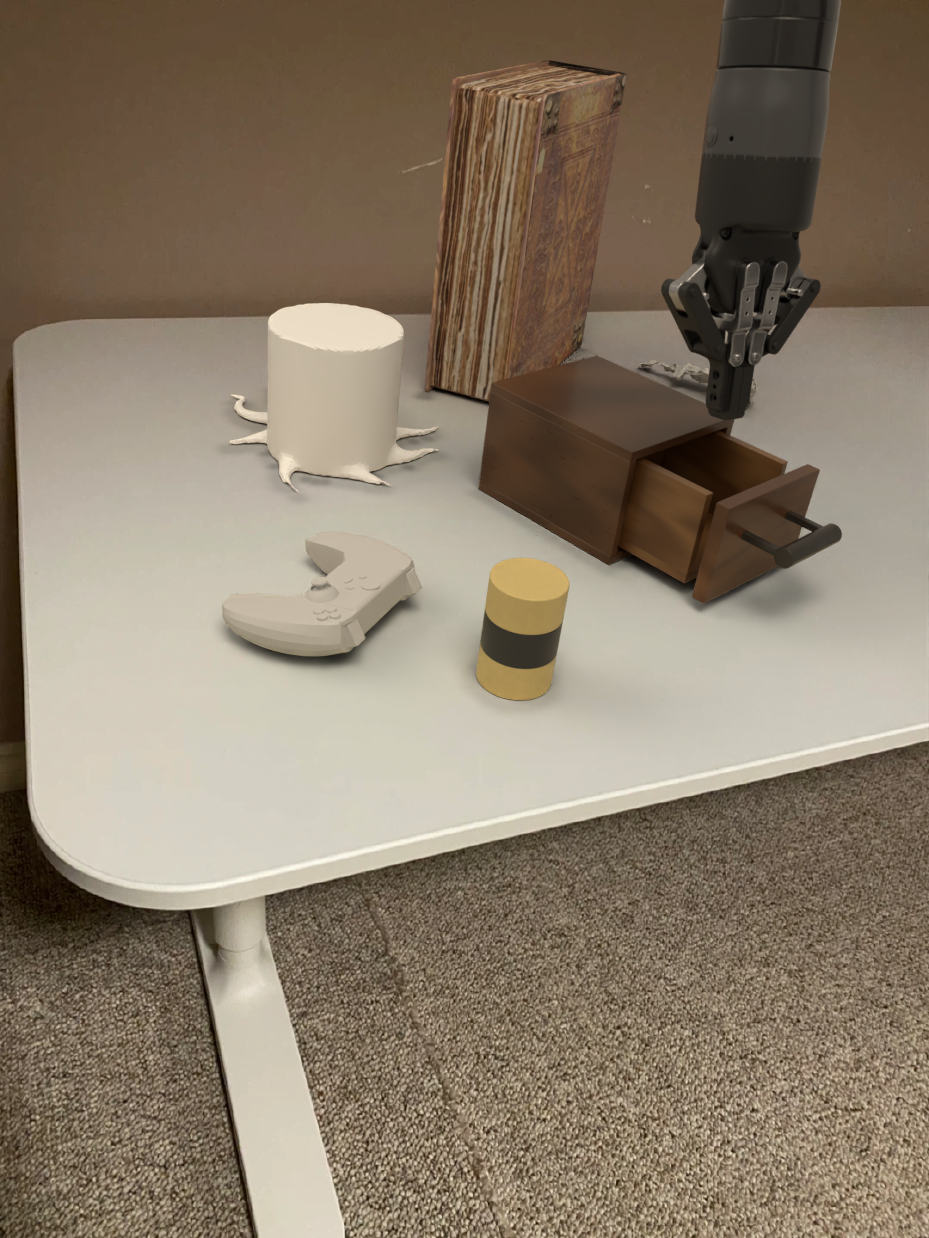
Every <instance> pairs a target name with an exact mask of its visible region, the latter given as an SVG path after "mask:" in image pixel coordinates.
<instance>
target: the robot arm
mask: <svg viewBox="0 0 929 1238" xmlns="http://www.w3.org/2000/svg"><path fill="white" fill-rule="evenodd" d="M841 4H842V0H724V4H723V9H722V13H721V14H722V15H721V23H720V31H719V40H718V48H717V56H716V64H715V65H716V66H715V68H716V70H715V73H714V79H713V84H712V88H711V92H710V95H709V96H710V97H709V100H708V104H707V110H706V116H705V125H704V133H703V141H702V142H703V143H702V149H701V150H702V152H701V159H700V167H699V174H698V175H699V176H698V185H697V195H696V202H695V209H694V220H695V222H696V223H697V224H698V226H699V229H700V234H699V238H698V241H697V243H696V246H695V247H694V249H693V252H692V256H691V264H692V265H691V266H690V267H688V269H687V270H686V271H684V273H683V274H682V275H681V276H679V277H678V278H677V279H673V278H667V279H665V280H664V281H663V282H662V284H661V287H660V291H661V295H662V298H663V299H664V302H665V303H666V305H667V308H668V309H669V311H670V314H671V316H672V318H673V320H674V322H675V323H676V326H677V328H678V330H679V333H680V334H681V337H682V338H683V341H684V343H685V345H686V347H687V349H688V350H689V352H690V353H693V354H696V355H699V356H702V357H703V358H706V359H707V360H708V362H709V378H708V383H707V388H706V395H705V403H706V407H707V408H708V412H709V414H710V415H711V416H713V417H716V418H719V419H722V420H730V419H734V420H738V419H742V418H744V416H745V414H746V410H747V408H748V407H749V405H750V404H749V400H750V393H751V387H752V380H753V379H754V372H755V366H756V365H758V364H759V363H760V362H761V360H762V358H764V357H765V356H767V355H768V354H769V355H775V356H776V355H777V354H778V353H779V352H780V351H781V350H782V348H783V347H784V345H785V344H786V342H787V341H788V339H789V338H790V336H791V335H792V333H793V332H794V330H795V329H796V328H797V326H798V325H799V323H800V322H801V320H802V318H803V317H804V316H805V315H806V313H807V311H808V310H809V308H811V305H812V304H813V302H815V299H816V298H817V296H818V295H819V294H820V291H821V289H822V288H821V282H820V280H819V279H816V278H811V277H808V276H807V275H806V274H805V272H804V270H802V268H801V267H800V264H801V263H800V262H801V258H802V252H801V247H800V233H801V232H804V231H806V230H808V229H809V228H810V227H811V225H812V222H813V215H814V209H815V203H816V198H817V191H818V184H819V177H820V171H821V165H822V159H823V151H824V145H825V139H826V132H827V126H828V121H829V111H830V110H829V109H830V82H831V73H830V72H831V71H832V67H833V61H834V54H835V47H836V41H837V36H838V35H837V34H838V29H839V28H838V27H839V20H840V14H841V13H840V12H841V6H842V5H841ZM725 313H726V314H725ZM754 314H756V315H754ZM774 326H775V327H774ZM772 329H773V330H772ZM726 331H727V333H728V336H727V341H726V343H725V334H726ZM770 331H771V332H770ZM769 333H770V334H769ZM748 404H749V405H748ZM747 406H748V407H747Z"/></svg>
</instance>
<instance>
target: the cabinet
mask: <svg viewBox="0 0 929 1238" xmlns="http://www.w3.org/2000/svg"><path fill="white" fill-rule="evenodd" d="M734 422H735V419H730V420H722V419H719V418H716V417H713V416H711V415H710V414H709V412H708V408H707V407H706V402H703V401H701V400H699V399H697V398H694V397H691V396H689V395H687V394H685V393H683V392H681V391H678V390H676V389H674V388H671V387H669V386H667V385H665V384H662V383H660V382H658V381H656V380H653V379H652V378H649V377H647V376H644V375H643V374H640V373H637V372H635V371H633V370H631V369H629V368H626V367H624V366H622V365H619V364H617V363H615V362H613V361H611V360H609V359H606V358H604V357H602V356H599V355H594V356H590V357H585V358H581V359H578V360H574V361H570V362H566V363H561V364H559V365H558V366H554V367H550V368H546V369H542V370H538V371H534V372H531V373H527V374H523V375H519V376H515V377H511V378H507V379H503V380H499V381H495V382H492V383H491V392H490V400H489V401H488V409H487V416H486V425H485V433H484V441H483V447H482V448H483V450H482V458H481V463H480V464H481V466H480V474H479V481H478V490H479V491H481V492H483V493H485V494H486V495H488V496H490V497H492V498H493V499H495V500H497V501H499V502H500V503H502V504H504V505H506V506H507V507H509V508H510V509H512V510H514V511H516V512H517V513H520V515H522V516H524V517H526V518H528V519H529V520H531V521H532V522H534V523H537V524H538V525H539V526H541V527H543V528H545V529H546V530H548V531H550V532H552V533H553V534H554V535H557V536H558V537H560V538H561V539H563V540H565V541H567V542H569V543H570V544H572V545H574V546H576V547H577V548H579V549H580V550H582V551H584V552H586V553H588V554H589V555H591V556H593V557H594V558H596V559H598V560H600V561H601V562H602V563H605V564H606V565H608V566H610V565H612V564H615V563H617V562H619V561H621V560H624V559H626V558H628V557H631V556H634V555H633V554H631V553H630V552H628V551H626V550H624V549H623V548H621V547H619V546H618V545H619V540H620V535H621V531H622V526H623V521H624V517H625V512H626V507H627V502H628V498H629V493H630V488H631V483H632V479H633V474H634V469H635V465H636V459H639V458H642V457H645V456H648V455H650V454H653V453H656V452H659V451H662V450H664V449H667V448H670V447H673V446H676V445H678V444H681V443H684V442H687V441H690V440H692V439H695V438H698V437H701V436H704V435H707V434H709V433H712V432H715V431H718V430H720V431H722V432H724V433H726V434H728V435H731V434H732V430H733V426H734Z"/></svg>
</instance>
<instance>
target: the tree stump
mask: <svg viewBox="0 0 929 1238" xmlns="http://www.w3.org/2000/svg"><path fill="white" fill-rule="evenodd" d="M404 340H405V330H404V328H403V325H402V324H401V323H400V322H399V321H397V319H396V318H393V317H392V316H391V315H388V314H385V313H383V312H381V311H379V310H376V309H373V308H369V307H361V306H358V305H351V304H348V303H347V304H346V303H342V304H341V303H334V302H320V303H319V302H313V303H304V304H296V305H293V306H285V307H282V308H279V309H277V310H276V311H275V312H273V313H272V314H270V316H269V317H268V321H267V409H266V410H267V411H255V410H250V409H246V408H245V407H244V406H243V404H244V403H245V402H246V400H247V399H246V397H245V396H244V395H239V394H230V395H229V396H232V397H233V398H236V399H238V400H236V402H235V403H234V408H233V409H234V411H235V412H236V413H237V415H238V416H240V417H242V418H244V419H246V420H248V421H253V422H254V423H258V424H259V423H261V424H266V425H267V427H266V428H265V429H264V430H262V431H259V432H256V433H253V434H251V435H247V436H243V437H241V438H235V439H231V440H228V443H229V445H241V444H245V443H246V444H252V443H253V444H256V443H259V444H261V443H262V444H264V445H265V444H266V446H267V450H268V452H269V454H271V457H272V458H274V459H275V460H276V461H277V462H278V466H279V467H278V474H279V476H280V478H281V480H282V483H283V484H286V483H287V484H288V485H289V486H291V487H292V488H293V489H294V490H295V491H296V492H297V493H299V490H298V489H296V487H294V486H293V484H292V482H291V477H292V474H293V473H294V472H304V473H307V474H310V475H319V476H323V477H326V476H328V477H333V478H342V479H344V478H345V479H349V480H357V481H360V482H365V483H369V484H376V485H380V484H381V485H388V486H391V487H392V486H393V485H392V484H390V483H388V482H386V481H385V480H382V479H380V478H379V477H378V476H376V475H374V474H373V473H372V472H375V471H379V470H381V469H383V468H385V467H387V466H390V465H397V464H403V463H410V462H411V461H414V460H417V459H419V458H422V457H424V456H425V455H427V454H430V453H432V452H434V451H436V452H439V451H440V449H439V448H432V447H431V448H429V447H426V448H420V449H413V450H408V449H404V448H401V447H400V446H399V445H398V444H397V443H398V442H397V441H398V440H400V439H403V438H408V437H415V436H422V435H423V436H424V435H427V434H428V435H429V434H430V433H432V432H435V431H436V430H437V428H439V427H440V425H438V426H434V427H430V428H422V429H420V428H416V429H415V428H410V427H403V426H402V427H400V426H398V420H399V419H398V418H399V405H400V393H401V380H402V379H401V378H402V369H403V368H402V366H403V354H404V342H405V341H404Z"/></svg>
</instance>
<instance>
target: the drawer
mask: <svg viewBox="0 0 929 1238" xmlns="http://www.w3.org/2000/svg"><path fill="white" fill-rule="evenodd" d="M788 464H789V461H787V460H786V459H783V458H782V457H779V456H777V455H775V454H772V453H770V452H768V451H765V450H763V449H761V448H759V447H757V446H754V445H753V444H750V443H748V442H746V441H744V440H742V439H739V438H738V437H735V436H733V435H731V434H730V435H728V434H726V433H724V432H722V431H720V430H718V431H715V432H712V433H709V434H707V435H704V436H701V437H698V438H695V439H692V440H690V441H687V442H684V443H681V444H678V445H676V446H673V447H670V448H667V449H664V450H662V451H659V452H656V453H653V454H650V455H648V456H645V457H642V458H639V459H636V465H635V469H634V474H633V479H632V483H631V488H630V493H629V498H628V502H627V507H626V512H625V517H624V521H623V526H622V531H621V535H620V540H619V545H618V546H619V547H621V548H623V549H624V550H626V551H628V552H630V553H631V554H633V555H632V556H635V557H636V558H638V559H640V560H642V561H644V562H645V563H647V564H649V565H651V566H653V567H654V568H656V569H658V570H659V571H661V572H663V573H665V574H667V575H669V576H670V577H672V578H674V579H675V580H677V581H679V582H681V583H682V584H686V583H688V582H691V581H693V580H695V579H696V580H695V583H694V588H693V591H692V595H691V598H693V600H696V601H698V602H699V603H701V604H702V605H704V604H708V603H709V602H711V601H713V600H715V599H717V598H718V597H721V596H722V595H724V594H726V593H728V592H730V591H732V590H734V589H736V588H738V587H739V586H741V585H744V584H746V583H747V582H749V581H751V580H753V579H755V578H757V577H759V576H761V575H763V574H765V573H767V572H769V571H771V570H773V569H775V568H777V567H779V568H781V569H785V570H786V569H789V568H791V567H794V566H795V565H797V564H799V563H801V562H803V561H805V560H807V559H809V558H811V557H812V556H815V555H816V554H818V553H820V552H822V551H824V550H827V549H828V548H830V547H832V546H834V545H835V544H837V543H839V542H840V541H841V540H842V537H843V532H842V529H841V528H840V526H839V525H837V524H836V523H833V522H832V523H831V522H830V523H827V524H825V525H822V524H820V523H817V522H815V521H814V520H812V519H809V518H807V517H806V515H807V513H808V509H809V506H810V503H811V500H812V497H813V493H814V491H815V487H816V484H817V481H818V478H819V475H820V472H821V469H820V468H818V467H816V466H813V465H811V464H809V463H806V464H805V465H801V466H799V467H797V468H795V469H792V470H790V471H787V472H786V470H787V466H788ZM802 528H804V529H805V530H807V531H809V532H808V533H807V534H805V535H803V536H801V537H800V534H801V531H802Z"/></svg>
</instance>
